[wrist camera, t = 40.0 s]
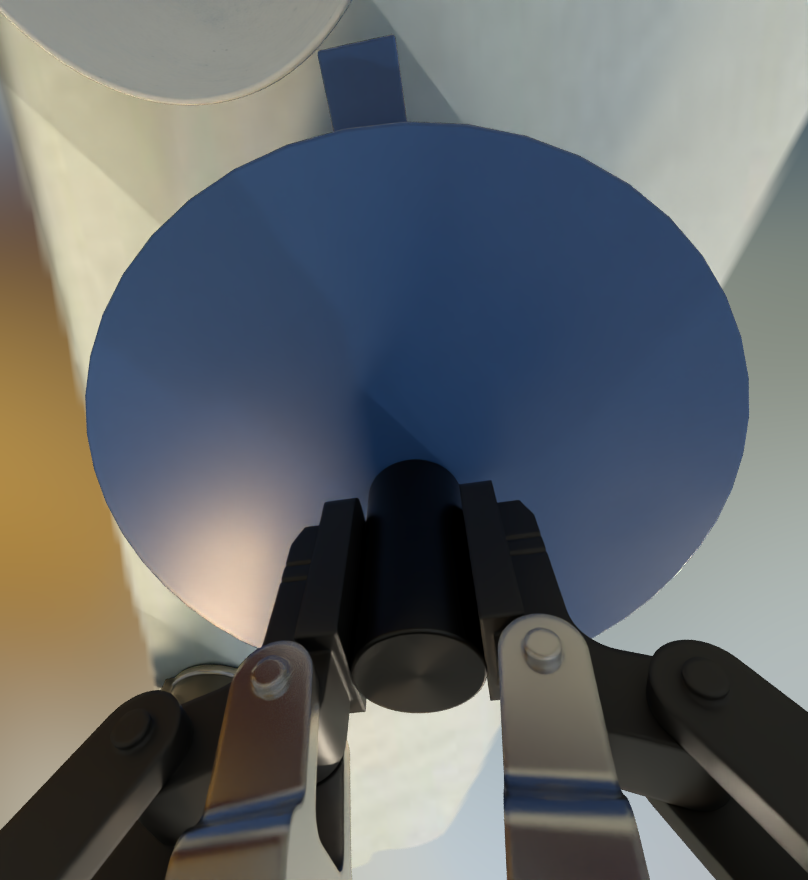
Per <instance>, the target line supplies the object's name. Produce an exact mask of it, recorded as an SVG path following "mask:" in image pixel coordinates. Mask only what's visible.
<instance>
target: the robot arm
mask: <svg viewBox="0 0 808 880" xmlns="http://www.w3.org/2000/svg"><path fill="white" fill-rule="evenodd" d="M459 488H460V496H461V503H462V510H463V517H464V523H465V530H466V537H467V543H468V550H469V557H470V563H471V570H472V576H473V583H474V590H475V596H476V603H477V610H478V616H479V623H480V630H481V636H482V643H483V649H484V656H485V661H486V664H487V680H488V687H489V694H490V701H492V700H500V704H501V724H502V744H503V765H504V824H505V847H506V868H507V880H650V878H649V874H648V870H647V866H646V861H645V857H644V853H643V849H642V844H641V840H640V836H639V832H638V828H637V824H636V821H635V817H634V814H633V811H632V808H631V805H630V803H629V801H628V799H627V797H626V796H625V795H623V793H622V791H621V790H625V791H628V792H632V793H635V794H639V795H642V796H645V797H646V798H647V799H648V801H649V802H650V803H651V804H652V805H653V807H654V808H655V809H656V810H657V811H658V812H659V814H660V815H661V816H662V817H663V818H664V820H665V821H666V822H667V823H668V824H669V825H670V826H671V828H672V829H673V830H674V831H675V832H676V833H677V835H678V836H679V837H680V838H681V839H682V841H684V843H685V844H686V845H687V846H688V848H689V849H690V850H691V851H692V852H693V853H694V855H695V856H696V857H697V858H698V859H699V860H700V861H701V863H702V864H703V865H704V866H705V867H706V869H707V870H708V871H709V872H710V873H711V874H712V876H713V877H714V878H715V879H716V880H808V712H807V711H805V710H804V709H803V708H802V707H800V706H799V705H798V704H797V703H795V702H794V701H793V700H791V699H790V698H788V697H787V696H786V695H785V694H783V693H782V692H781V691H779V690H778V689H777V688H776V687H774V686H773V685H771V684H770V683H769V682H768V681H766V680H765V679H764V678H762V677H761V676H760V675H759V674H757V673H756V672H755V671H753V670H752V669H751V668H749V667H748V666H747V665H745V664H744V663H743V662H741V661H740V660H739V659H738V658H736V657H735V656H733V655H732V654H730V653H729V652H727V651H725V650H723V649H721V648H719V647H717V646H714V645H712V644H709V643H705V642H702V641H696V640H677V641H673V642H669V643H667V644H665V645H663V646H661V647H660V648H659V649H658V650H657V651H656V652H655V653H654V655H653V656H649V655H644V654H639V653H634V652H629V651H623V650H618V649H614V648H610V647H607V646H605V645H602V644H600V643H598V642H596V641H594V640H592V639H591V638H590V637H588V636H587V635H585V634H584V633H583V632H582V631H581V630H579V628H578V627H577V626H576V625H575V624H574V623H573V621H572V620H571V618H570V616H569V614H568V612H567V609H566V606H565V603H564V600H563V597H562V594H561V591H560V588H559V586H558V583H557V580H556V577H555V574H554V571H553V568H552V565H551V562H550V559H549V556H548V553H547V552H546V547H545V544H544V542H543V539H542V536H541V533H540V530H539V527H538V524H537V521H536V518H535V515H534V514H533V513H532V512H531V511H530V510H529V509H528V508H527V507H526V506H525V505H524V504H523V503H522V502H521V501H520V500H514V501H506V502H498V503H497V500H496V496H495V492H494V488H493V484H492V481H491V480H487V481H480V482H472V483H465V484H459ZM365 526H366V521H365V517H364V514H363V510H362V506H361V503H360V501H359V499H358V498H350V499H343V500H335V501H328V502H325V503H324V506H323V510H322V515H321V519H320V523H319V525H318V526H310V527H304V529H303V530H302V531H301V533H300V534H299V535H298V536H297V538H296V539H295V540H294V542H293V543H292V544H291V547H290V550H289V554H288V558H287V561H286V567H285V568H284V572H283V575H282V579H281V580H282V583H280V586H279V589H278V593H277V596H276V600H275V603H274V607H273V610H272V614H271V617H270V621H269V624H268V628H267V631H266V635H265V638H264V642H263V645H262V647H260V648H259V649H257V650H255V651H254V652H253V653H251V654H250V655H249V656H248V657H247V658H246V659H245V660H244V661H243V662H242V663H241V665H240V666H239V667H238V669H236V668H233V667H228V666H223V665H199V666H194V667H191V668H188V669H186V670H184V671H182V672H180V673H179V674H178V675H177V676H176V677H175V678H170V679H166V680H165V682H164V684H163V687H162V689H161V690H155V691H149V692H145V693H142V694H140V695H137V696H135V697H133V698H132V699H130V700H128V701H127V702H125V703H123V704H122V705H121V706H120V707H118V708H117V709H116V710H115V711H114V712H113V713H112V714H111V715H110V716H109V717H108V718H107V719H106V720H105V721H104V722H103V723H102V724H101V725H100V726H99V727H98V728H97V729H96V730H95V731H94V732H93V733H92V734H91V736H90V737H89V738H88V739H87V740H86V741H85V742H84V743H83V744H82V745H81V746H80V747H79V748H78V749H77V750H76V751H75V752H74V753H73V754H72V755H71V756H70V758H69V759H68V760H67V761H66V762H65V763H64V764H63V765H62V766H61V767H60V768H59V769H58V770H57V771H56V772H55V773H54V774H53V776H52V777H51V778H50V779H49V780H48V781H47V782H46V783H45V784H44V785H43V786H42V787H41V788H40V789H39V790H38V791H37V792H36V793H35V794H34V795H33V796H32V798H31V799H30V800H29V801H28V802H27V803H26V804H25V805H24V806H23V807H22V808H21V809H20V810H19V811H18V812H17V813H16V814H15V815H14V816H13V818H12V819H11V820H10V821H9V822H8V823H7V824H6V825H5V826H4V827H3V828H2V829H1V830H0V880H352V871H351V805H350V750H349V745H348V742H347V731H348V721H349V713H357V712H365V711H366V698H365V697H364V696H363V695H362V694H361V693H360V692H359V691H358V690H357V688H356V687H355V685H354V683H353V681H352V677H351V670H350V665H351V655H352V646H353V637H354V627H355V618H356V609H357V600H358V590H359V581H360V572H361V563H362V553H363V544H364V535H365Z"/></svg>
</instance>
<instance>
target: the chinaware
mask: <svg viewBox="0 0 808 880" xmlns="http://www.w3.org/2000/svg"><path fill="white" fill-rule="evenodd" d="M351 1H352V0H0V12H1V13H2V14H3V15H4V16H5V17H6V18H7V19H8V20H9V21H10V22H11V23H12V24H13V25H15V26H16V27H17V28H18V29H19V30H20V31H21V32H22V33H24V34H25V35H26V36H27V37H28V38H30V39H31V40H32V41H33V42H35V43H36V44H37V45H38V46H40V47H41V48H42V49H44V50H45V51H46V52H48V53H49V54H50V55H52V56H53V57H55V58H56V59H58V60H59V61H61V62H62V63H64V64H65V65H67V66H68V67H70V68H72V69H73V70H75V71H77V72H78V73H80V74H82V75H84V76H86V77H87V78H89V79H91V80H93V81H95V82H97V83H99V84H102V85H104V86H106V87H109V88H111V89H113V90H116V91H119V92H121V93H124V94H127V95H130V96H133V97H137V98H141V99H144V100H149V101H153V102H159V103H165V104H174V105H207V104H215V103H221V102H226V101H231V100H234V99H238V98H241V97H244V96H247V95H250V94H253V93H255V92H257V91H260V90H262V89H264V88H266V87H268V86H270V85H272V84H273V83H275V82H277V81H278V80H280V79H282V78H283V77H285V76H286V75H288V74H289V73H290V72H292V71H293V70H294V69H296V68H297V67H298V66H299V65H300V64H302V63H303V62H304V61H305V60H306V59H307V58H308V57H309V56H310V55H311V54H312V53H313V52H314V51H315V50H316V49H317V48H318V47H319V46H320V45H321V44H322V43H323V41H324V40H325V39H326V38H327V37H328V35H329V34H330V33H331V32H332V30H333V29H334V28H335V26H336V25H337V23H338V22H339V20H340V19H341V17H342V16H343V14H344V13H345V11H346V9H347V8H348V6H349V4H350V2H351Z"/></svg>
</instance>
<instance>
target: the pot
mask: <svg viewBox="0 0 808 880" xmlns="http://www.w3.org/2000/svg"><path fill="white" fill-rule="evenodd" d="M318 59H319V64H320V69H321V74H322V78H323V83H324V88H325V93H326V98H327V102H328V107H329V112H330V117H331V122H332V126H333V131H334V132H335V131H338V130H342V129H346V128H355V127H363V126H372V125H380V124H389V123H397V122H407V117H406V110H405V103H404V95H403V88H402V81H401V74H400V67H399V60H398V53H397V45H396V38H395V36H394V35H387V36H382V37H378V38H373V39H369V40H364V41H360V42H355V43H351V44H346V45H342V46H337V47H333V48H328V49H324V50H320V51H318Z"/></svg>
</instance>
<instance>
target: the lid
mask: <svg viewBox="0 0 808 880" xmlns="http://www.w3.org/2000/svg"><path fill="white" fill-rule="evenodd" d="M748 381H749V378H748V372H747V367H746V361H745V356H744V350H743V345H742V339H741V335H740V332H739V330H738V327H737V324H736V322H735V319H734V316H733V314H732V311H731V308H730V305H729V303H728V300H727V297H726V295H725V293H724V291H723V290H722V288H721V286H720V285H719V283H718V281H717V280H716V278H715V276H714V274H713V273H712V271H711V269H710V268H709V266H708V264H707V263H706V261H705V259H704V257H703V256H702V254H701V253H700V252H699V251H698V250H697V249H696V247H695V246H694V245H693V244H692V243H691V242H690V240H689V239H688V238H687V237H686V236H685V235H684V233H683V232H682V231H681V230H680V229H679V228H678V226H677V225H676V224H675V223H674V222H673V221H672V219H671V218H670V217H669V216H667V215H666V214H665V213H664V212H663V211H661V210H660V209H659V208H658V207H657V206H655V205H654V204H653V203H652V202H650V201H649V200H648V199H647V198H646V197H644V196H643V195H642V194H641V193H640V192H638V191H637V190H636V189H635V188H633V187H632V186H631V185H630V184H628V183H627V182H625V181H623V180H621V179H620V178H618V177H616V176H614V175H613V174H611V173H609V172H607V171H606V170H604V169H602V168H600V167H599V166H597V165H595V164H593V163H592V162H590V161H588V160H586V159H585V158H583V157H581V156H579V155H576V154H573V153H571V152H568V151H565V150H563V149H560V148H557V147H555V146H552V145H549V144H547V143H544V142H541V141H539V140H536V139H533V138H530V137H528V136H525V135H519V134H514V133H509V132H504V131H499V130H494V129H489V128H484V127H479V126H474V125H469V124H455V123H429V122H397V123H389V124H380V125H372V126H363V127H355V128H346V129H342V130H338V131H335V132H331V133H327V134H324V135H320V136H317V137H313V138H310V139H306V140H302V141H299V142H295V143H292V144H288V145H286V146H283V147H281V148H279V149H277V150H275V151H273V152H270V153H268V154H266V155H264V156H262V157H260V158H257V159H255V160H253V161H251V162H249V163H247V164H244V165H242V166H240V167H238V168H236V169H234V170H232V171H231V172H229V173H228V174H226V175H225V176H224V177H222V178H221V179H219V180H218V181H216V182H215V183H213V184H212V185H210V186H209V187H207V188H206V189H204V190H203V191H201V192H200V193H198V194H197V195H195V196H194V197H193V198H191V199H190V200H188V201H187V202H186V203H185V204H184V205H183V206H182V207H181V208H180V209H179V210H178V211H177V212H176V213H175V214H174V215H173V216H172V217H171V218H170V219H168V220H167V221H166V222H165V223H164V224H163V225H162V226H161V227H160V228H159V229H158V230H157V231H156V232H155V233H154V234H153V235H152V236H151V237H150V239H149V240H148V241H147V243H146V244H145V245H144V247H143V248H142V249H141V251H140V252H139V253H138V255H137V256H136V257H135V259H134V260H133V261H132V263H131V264H130V265H129V267H128V268H127V269H126V271H125V272H124V274H123V275H122V277H121V279H120V281H119V283H118V285H117V287H116V289H115V291H114V293H113V295H112V297H111V299H110V301H109V303H108V305H107V307H106V309H105V311H104V313H103V315H102V319H101V322H100V325H99V329H98V332H97V335H96V339H95V342H94V345H93V348H92V352H91V355H90V362H89V370H88V379H87V387H86V395H85V400H86V423H87V437H88V442H89V446H90V451H91V456H92V461H93V466H94V470H95V473H96V476H97V479H98V481H99V484H100V487H101V490H102V492H103V495H104V498H105V501H106V503H107V505H108V507H109V509H110V511H111V513H112V515H113V517H114V518H115V520H116V522H117V524H118V526H119V528H120V530H121V532H122V533H123V535H124V536H125V538H126V539H127V541H128V542H129V543H130V545H131V546H132V548H133V549H134V550H135V552H136V553H137V555H138V556H139V557H140V559H141V560H142V561H143V563H144V564H145V565H146V566H147V567H148V568H149V569H150V570H151V571H152V573H153V574H154V575H155V576H156V577H157V578H158V579H159V580H160V581H161V582H162V584H163V585H164V586H165V587H167V588H168V589H169V590H170V591H171V592H172V593H173V594H175V595H176V596H177V597H178V598H179V599H180V600H181V601H182V602H184V603H185V604H186V605H187V606H188V607H189V608H191V609H192V610H194V611H195V612H196V613H198V614H199V615H201V616H202V617H203V618H205V619H206V620H208V621H209V622H210V623H212V624H213V625H215V626H217V627H218V628H220V629H222V630H223V631H225V632H227V633H229V634H230V635H232V636H234V637H236V638H237V639H239V640H241V641H243V642H245V643H247V644H249V645H251V646H254V647H256V648H258V649H259V648H260V647H262V645H263V642H264V638H265V635H266V631H267V628H268V624H269V621H270V617H271V614H272V610H273V607H274V603H275V600H276V596H277V593H278V589H279V586H280V583H282V580H281V579H282V575H283V572H284V568H285V567H286V561H287V558H288V554H289V550H290V547H291V544H292V543H293V542H294V540H295V539H296V538H297V536H298V535H299V534H300V533H301V531H302V530H303V529H304V527H310V526H318V525H319V523H320V519H321V515H322V510H323V506H324V503H325V502H328V501H335V500H343V499H350V498H358V499H359V501H360V503H361V506H362V510H363V514H364V517H365V521H366V526H365V535H364V544H363V553H362V563H361V572H360V581H359V590H358V600H357V609H356V618H355V627H354V637H353V646H352V655H351V665H350V670H351V677H352V681H353V683H354V685H355V687H356V688H357V690H358V691H359V692H360V693H361V694H362V695H363V696H364V697H365V698H367V699H368V700H370V701H371V702H373V703H375V704H377V705H379V706H381V707H384V708H387V709H391V710H394V711H399V712H406V713H431V712H438V711H443V710H447V709H450V708H453V707H456V706H459V705H461V704H463V703H465V702H466V701H468V700H470V699H471V698H472V697H474V696H475V695H476V694H477V693H478V692H479V691H480V690H481V688H482V687H483V685H484V683H485V681H486V678H487V664H486V661H485V656H484V649H483V643H482V636H481V630H480V623H479V616H478V610H477V603H476V596H475V590H474V583H473V576H472V570H471V563H470V557H469V550H468V543H467V537H466V530H465V523H464V517H463V510H462V503H461V496H460V488H459V484H465V483H472V482H480V481H487V480H491V481H492V484H493V488H494V492H495V496H496V500H497V503H498V502H506V501H514V500H520V501H521V502H522V503H523V504H524V505H525V506H526V507H527V508H528V509H529V510H530V511H531V512H532V513H533V514H534V515H535V518H536V521H537V524H538V527H539V530H540V533H541V536H542V539H543V542H544V544H545V547H546V552H547V553H548V556H549V559H550V562H551V565H552V568H553V571H554V574H555V577H556V580H557V583H558V586H559V588H560V591H561V594H562V597H563V600H564V603H565V606H566V609H567V612H568V614H569V616H570V618H571V620H572V621H573V623H574V624H575V625H576V626H577V627H578V628H579V630H581V631H582V632H583V633H584V634H585V635H587V636H588V637H590V638H591V639H592V638H594V637H596V636H598V635H600V634H601V633H603V632H604V631H606V630H608V629H609V628H611V627H612V626H614V625H616V624H617V623H619V622H621V621H622V620H624V619H625V618H627V617H628V616H629V615H631V614H632V613H633V612H635V611H636V610H637V609H639V608H640V607H641V606H642V605H644V604H645V603H646V602H648V601H649V600H650V599H652V598H653V597H654V596H655V595H656V594H657V593H658V592H659V591H660V590H661V589H662V588H663V587H664V586H666V585H667V584H668V583H669V582H670V581H671V580H672V579H673V578H674V577H675V576H676V575H677V574H678V573H679V571H680V570H681V569H682V568H683V567H684V566H685V564H686V563H687V562H688V561H689V560H690V558H691V557H692V556H693V555H694V554H695V552H696V551H697V550H698V549H699V547H700V545H701V544H702V543H703V541H704V540H705V538H706V536H707V535H708V533H709V532H710V530H711V529H712V527H713V526H714V524H715V523H716V521H717V519H718V517H719V515H720V513H721V511H722V509H723V507H724V505H725V503H726V501H727V498H728V496H729V494H730V492H731V490H732V488H733V485H734V482H735V478H736V475H737V472H738V469H739V465H740V462H741V459H742V456H743V451H744V445H745V439H746V432H747V426H748V419H749V382H748Z"/></svg>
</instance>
